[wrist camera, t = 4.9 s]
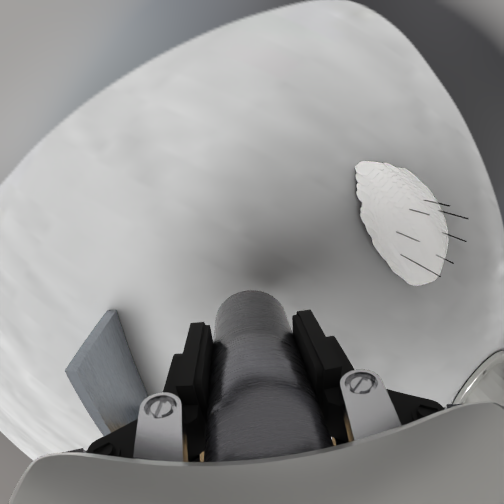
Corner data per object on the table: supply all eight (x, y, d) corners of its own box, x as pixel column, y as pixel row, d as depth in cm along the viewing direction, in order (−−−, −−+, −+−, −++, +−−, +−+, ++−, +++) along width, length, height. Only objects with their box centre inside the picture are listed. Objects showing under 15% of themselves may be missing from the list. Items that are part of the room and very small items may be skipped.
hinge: (297, 291, 19) (333, 351, 12) (298, 435, 24) (314, 491, 17) (76, 312, 18) (29, 366, 11) (140, 445, 23) (129, 498, 16)
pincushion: (451, 251, 20) (496, 272, 15) (408, 302, 21) (448, 334, 15) (382, 137, 17) (433, 130, 12) (325, 194, 18) (365, 204, 12)
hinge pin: (296, 272, 13) (429, 498, 2) (298, 354, 14) (367, 551, 3) (195, 283, 13) (128, 537, 2) (211, 364, 14) (199, 573, 3)
